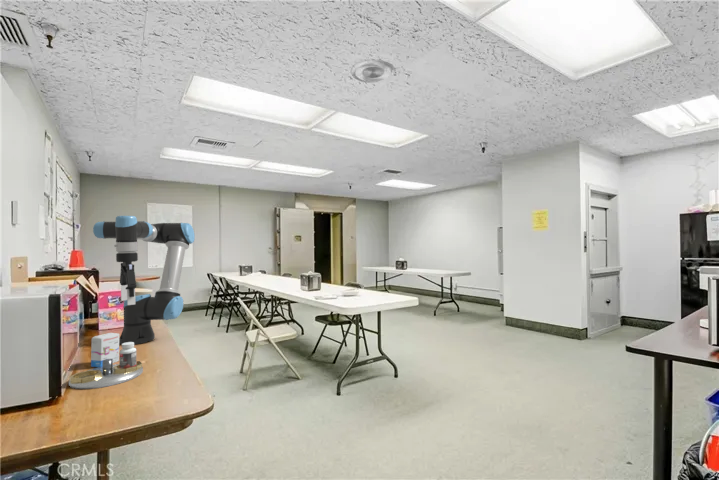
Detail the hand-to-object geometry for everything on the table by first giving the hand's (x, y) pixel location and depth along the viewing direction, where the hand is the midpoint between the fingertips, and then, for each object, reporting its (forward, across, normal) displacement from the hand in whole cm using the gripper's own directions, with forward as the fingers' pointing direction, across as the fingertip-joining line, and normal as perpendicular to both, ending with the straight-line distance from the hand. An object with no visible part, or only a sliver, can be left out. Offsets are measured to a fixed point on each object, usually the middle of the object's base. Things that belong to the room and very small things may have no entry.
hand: (128, 302), depth 147 cm
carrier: (+24, +18, -10) cm, 31 cm away
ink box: (+24, 0, -8) cm, 26 cm away
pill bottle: (+23, +18, -3) cm, 29 cm away
